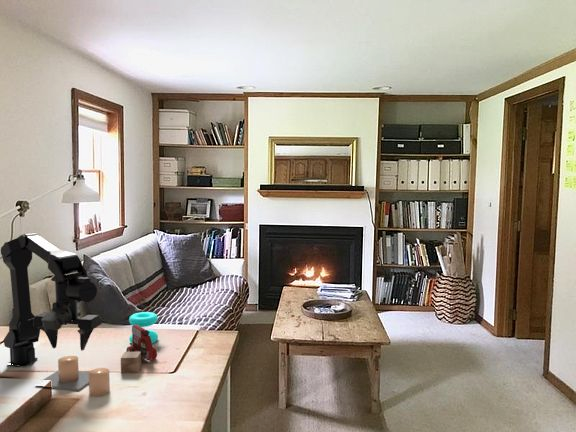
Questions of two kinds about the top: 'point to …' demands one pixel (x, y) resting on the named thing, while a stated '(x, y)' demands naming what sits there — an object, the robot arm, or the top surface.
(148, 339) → the toy fire truck
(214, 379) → the top surface
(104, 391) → the peach domed cap
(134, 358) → the walnut block
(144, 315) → the donuts
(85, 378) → the slate board
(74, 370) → the peach domed cylinder
